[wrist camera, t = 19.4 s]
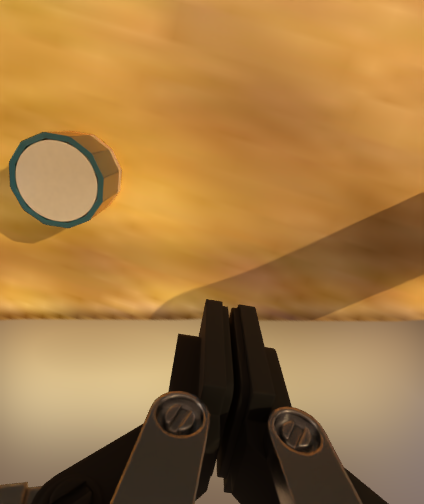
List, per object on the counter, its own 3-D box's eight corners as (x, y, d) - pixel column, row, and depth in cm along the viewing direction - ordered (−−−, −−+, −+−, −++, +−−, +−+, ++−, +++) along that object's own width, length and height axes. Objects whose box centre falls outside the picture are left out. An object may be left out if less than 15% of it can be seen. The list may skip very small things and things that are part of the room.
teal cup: (6, 125, 27) (42, 125, 32) (11, 219, 29) (43, 204, 35) (105, 142, 27) (124, 140, 33) (100, 233, 30) (118, 217, 36)
